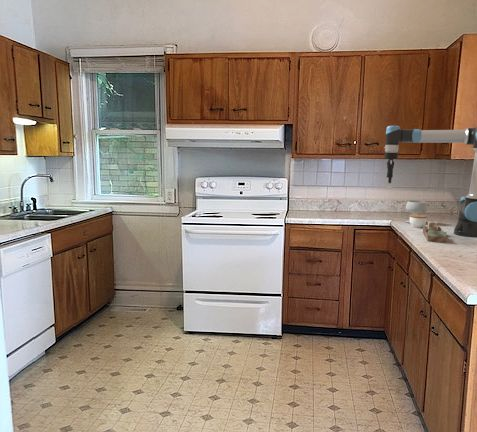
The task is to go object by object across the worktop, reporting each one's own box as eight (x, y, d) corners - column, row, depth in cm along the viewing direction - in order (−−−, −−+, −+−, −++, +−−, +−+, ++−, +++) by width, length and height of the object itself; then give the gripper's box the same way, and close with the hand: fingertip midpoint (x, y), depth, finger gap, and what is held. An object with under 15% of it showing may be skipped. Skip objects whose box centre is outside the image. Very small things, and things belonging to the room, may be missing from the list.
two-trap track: (438, 233, 258) (439, 224, 257) (445, 242, 232) (446, 231, 231) (422, 232, 260) (423, 223, 259) (427, 241, 235) (428, 230, 234)
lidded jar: (411, 224, 288) (412, 211, 286) (428, 227, 281) (429, 213, 279) (406, 226, 279) (407, 212, 278) (423, 229, 273) (424, 214, 271)
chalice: (418, 225, 287) (420, 203, 285) (400, 221, 299) (402, 200, 297) (430, 223, 295) (432, 202, 293) (412, 220, 307) (414, 200, 304)
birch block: (435, 229, 256) (436, 221, 255) (436, 230, 252) (437, 223, 251) (427, 228, 257) (428, 221, 256) (428, 229, 253) (429, 222, 252)
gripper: (384, 152, 265) (382, 185, 268) (385, 152, 241) (382, 189, 245) (397, 152, 263) (394, 186, 266) (399, 152, 239) (396, 189, 242)
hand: (388, 187), depth 255 cm, fingers open, 13 cm apart
